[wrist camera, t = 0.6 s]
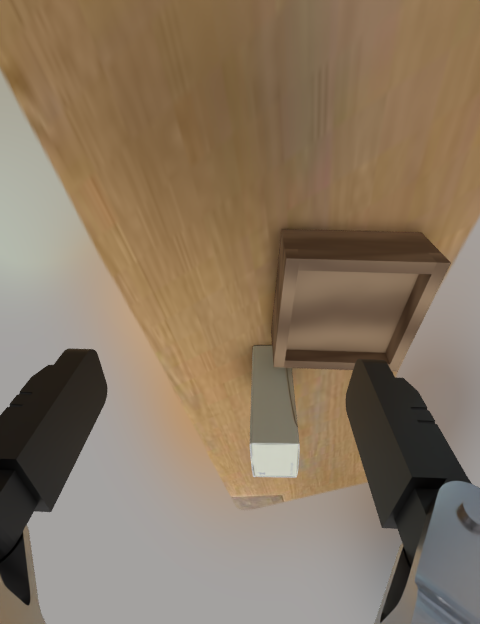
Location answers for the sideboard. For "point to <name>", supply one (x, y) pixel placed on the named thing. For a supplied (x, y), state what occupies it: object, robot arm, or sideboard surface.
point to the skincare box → (272, 418)
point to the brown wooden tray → (351, 296)
